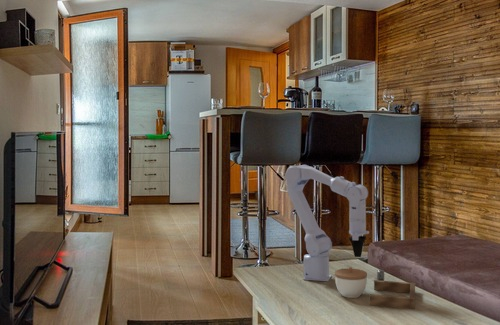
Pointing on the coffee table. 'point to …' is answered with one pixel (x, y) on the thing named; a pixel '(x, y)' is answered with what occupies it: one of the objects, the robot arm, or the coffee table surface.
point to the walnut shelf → (394, 300)
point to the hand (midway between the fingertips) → (357, 256)
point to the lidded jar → (350, 282)
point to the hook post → (380, 275)
